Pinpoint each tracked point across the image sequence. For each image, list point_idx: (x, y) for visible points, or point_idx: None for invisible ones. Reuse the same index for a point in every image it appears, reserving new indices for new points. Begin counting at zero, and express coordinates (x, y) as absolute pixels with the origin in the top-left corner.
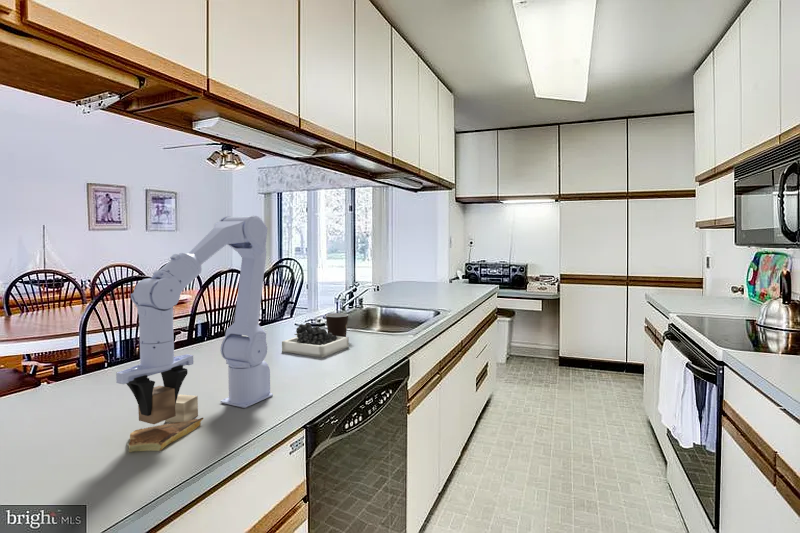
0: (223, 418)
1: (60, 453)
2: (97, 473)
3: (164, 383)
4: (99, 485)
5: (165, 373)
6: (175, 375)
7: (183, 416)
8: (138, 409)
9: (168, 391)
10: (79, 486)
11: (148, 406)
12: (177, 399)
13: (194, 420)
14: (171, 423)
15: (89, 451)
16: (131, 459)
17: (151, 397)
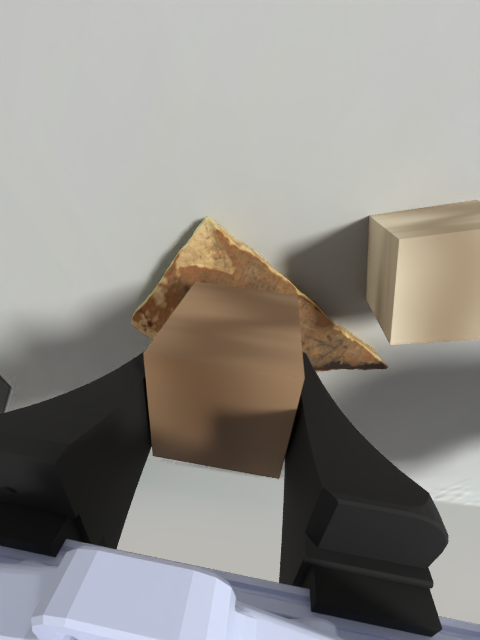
0: (435, 383)
1: (5, 73)
2: (54, 318)
3: (304, 426)
4: (42, 360)
5: (305, 516)
6: (283, 573)
7: (373, 311)
8: (180, 302)
9: (241, 467)
10: (13, 329)
11: None
12: (444, 280)
13: (357, 357)
14: (310, 308)
15: (80, 174)
16: (130, 334)
17: (149, 447)
